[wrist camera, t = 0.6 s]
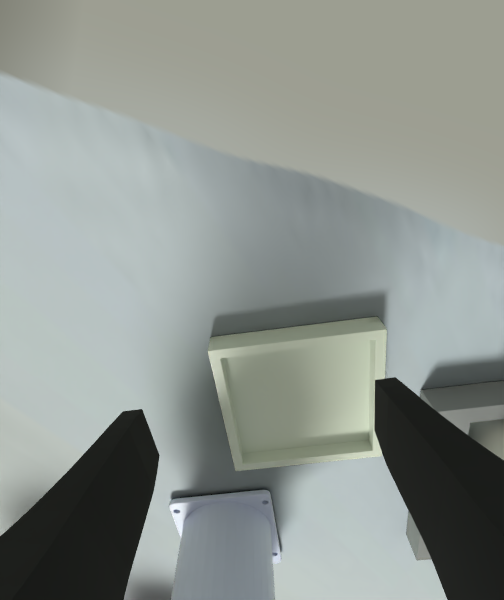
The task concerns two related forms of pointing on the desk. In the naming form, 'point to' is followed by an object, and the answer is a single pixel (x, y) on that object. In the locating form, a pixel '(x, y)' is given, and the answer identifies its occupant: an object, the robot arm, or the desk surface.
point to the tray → (300, 392)
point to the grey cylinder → (489, 435)
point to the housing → (459, 425)
